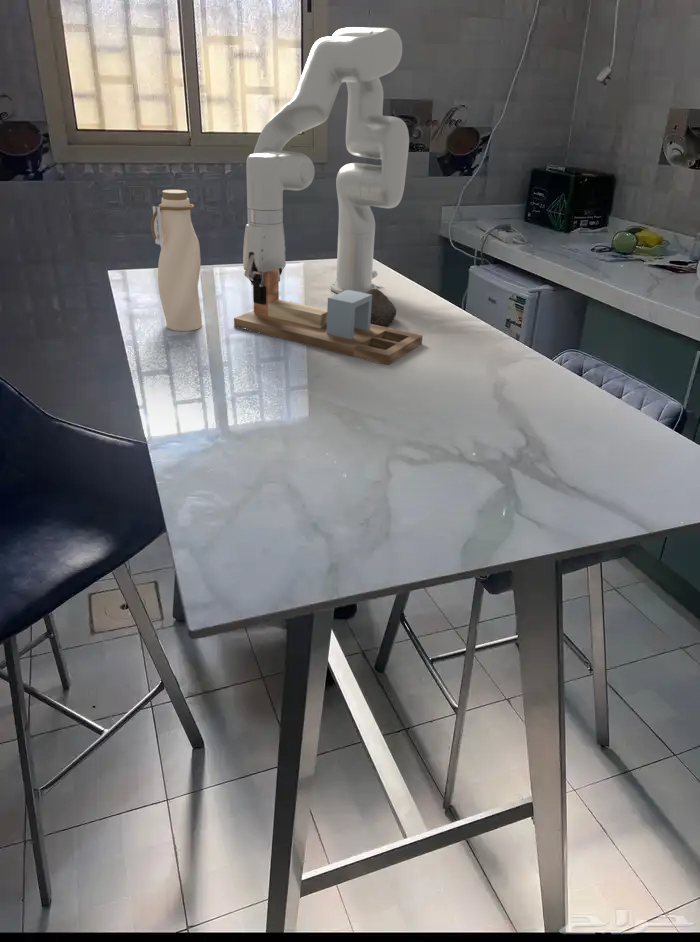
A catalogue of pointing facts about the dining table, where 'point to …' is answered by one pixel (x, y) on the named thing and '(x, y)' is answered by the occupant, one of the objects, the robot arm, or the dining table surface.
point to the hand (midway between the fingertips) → (266, 300)
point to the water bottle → (177, 261)
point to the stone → (381, 308)
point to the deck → (337, 337)
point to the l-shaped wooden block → (288, 306)
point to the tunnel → (348, 313)
